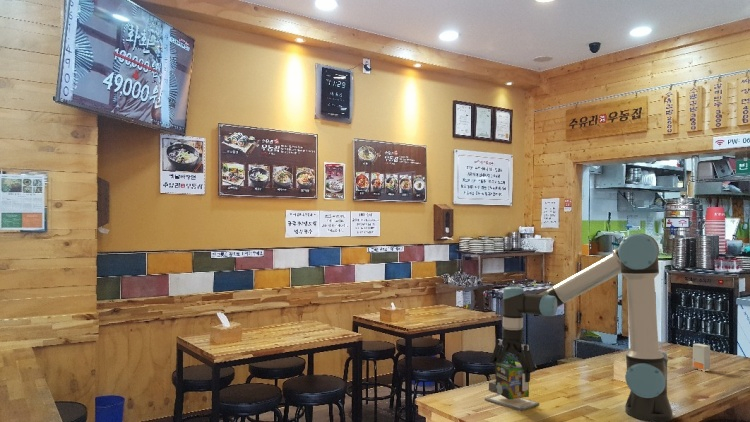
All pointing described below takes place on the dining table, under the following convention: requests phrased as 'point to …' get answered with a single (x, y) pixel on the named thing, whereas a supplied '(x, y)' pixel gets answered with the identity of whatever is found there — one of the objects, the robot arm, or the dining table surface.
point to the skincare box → (701, 356)
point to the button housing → (492, 386)
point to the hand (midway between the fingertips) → (511, 386)
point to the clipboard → (512, 402)
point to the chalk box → (510, 379)
